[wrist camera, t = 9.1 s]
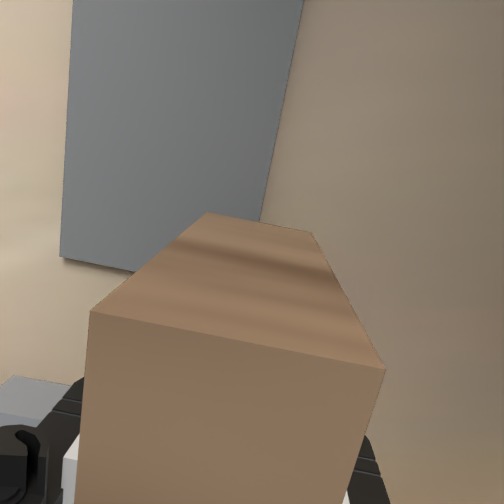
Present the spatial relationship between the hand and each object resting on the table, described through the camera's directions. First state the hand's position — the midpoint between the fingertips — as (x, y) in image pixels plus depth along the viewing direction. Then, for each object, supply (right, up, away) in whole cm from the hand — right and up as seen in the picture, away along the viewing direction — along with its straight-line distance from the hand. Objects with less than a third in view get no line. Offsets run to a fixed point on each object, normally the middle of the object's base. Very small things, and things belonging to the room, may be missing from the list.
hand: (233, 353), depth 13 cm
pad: (-2, +9, +1) cm, 10 cm away
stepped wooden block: (-1, -4, +1) cm, 4 cm away
